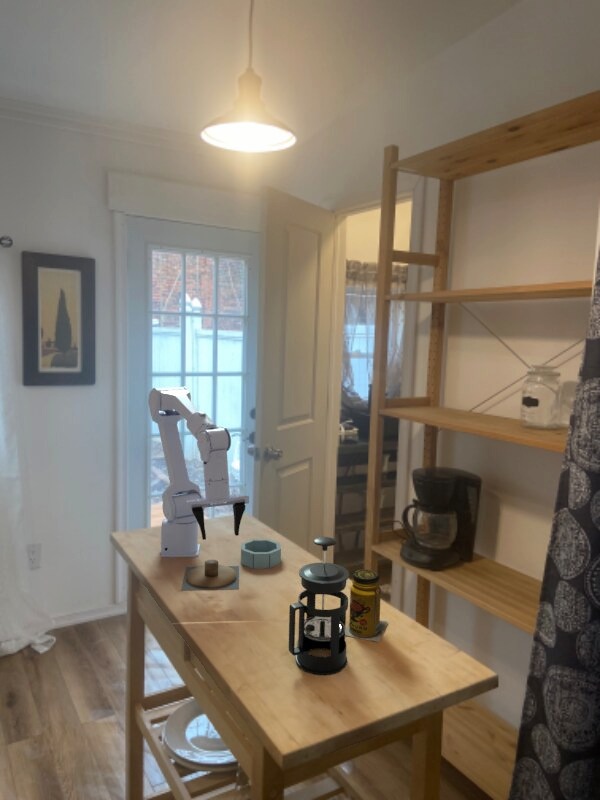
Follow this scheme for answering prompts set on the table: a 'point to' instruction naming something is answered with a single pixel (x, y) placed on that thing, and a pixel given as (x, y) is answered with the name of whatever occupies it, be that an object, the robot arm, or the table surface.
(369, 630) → the condiment
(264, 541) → the bowl
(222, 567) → the lid
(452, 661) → the table surface
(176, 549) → the robot arm
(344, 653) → the french press
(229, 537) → the table surface
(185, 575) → the mat
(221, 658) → the table surface
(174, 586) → the table surface
